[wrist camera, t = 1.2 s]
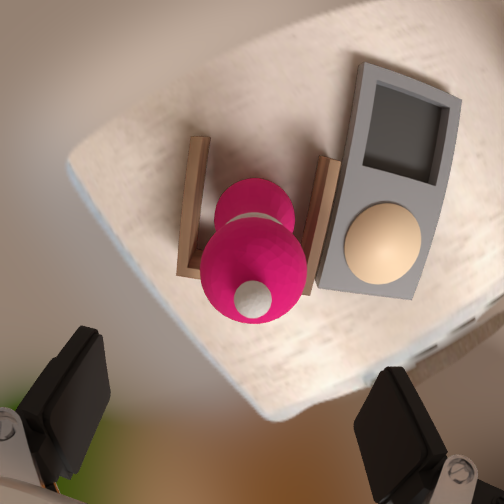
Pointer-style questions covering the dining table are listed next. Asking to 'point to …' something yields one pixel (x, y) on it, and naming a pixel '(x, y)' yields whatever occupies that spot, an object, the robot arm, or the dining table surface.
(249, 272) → the pepper mill
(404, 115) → the gray portable music player
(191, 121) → the dining table surface
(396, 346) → the dining table surface
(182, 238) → the wooden u-shaped frame
